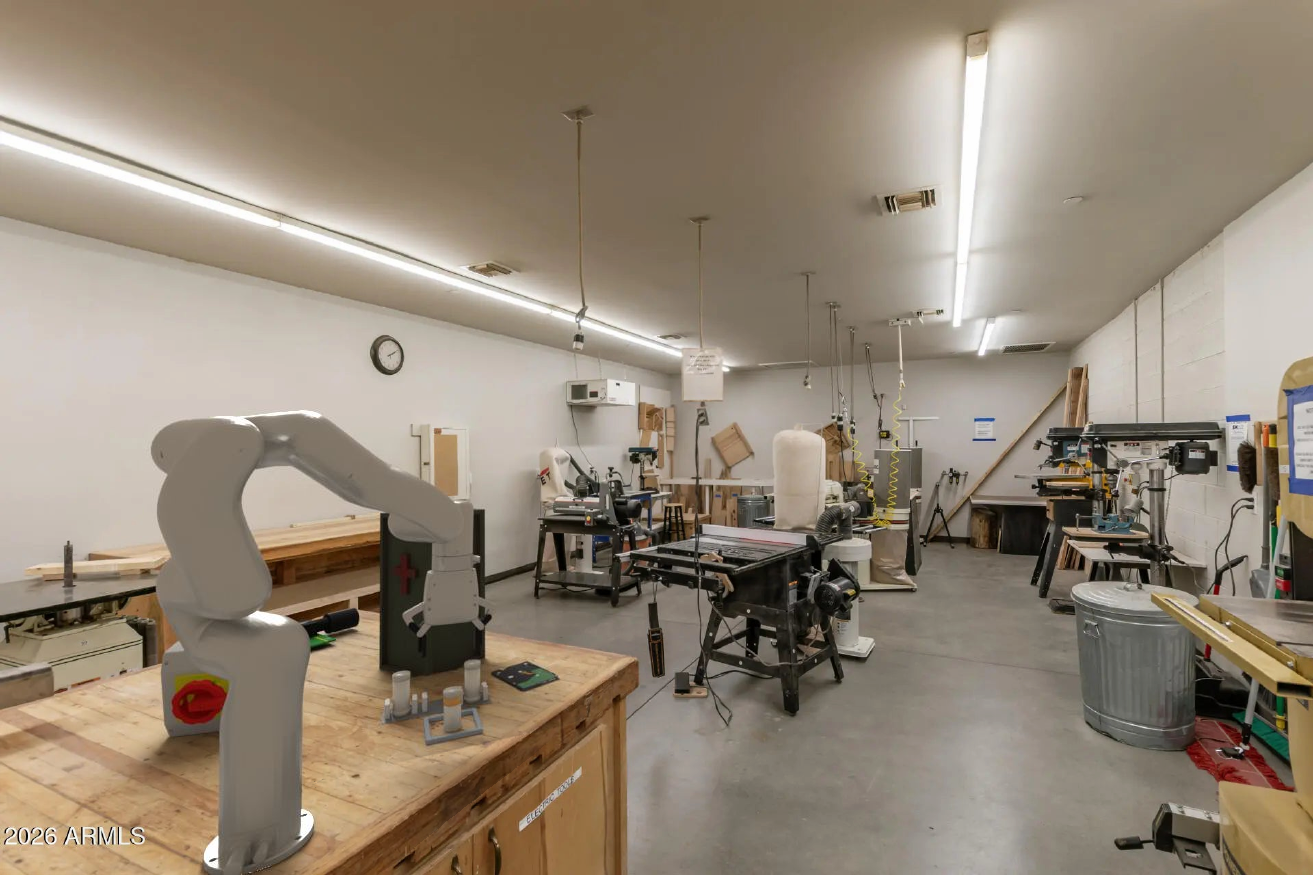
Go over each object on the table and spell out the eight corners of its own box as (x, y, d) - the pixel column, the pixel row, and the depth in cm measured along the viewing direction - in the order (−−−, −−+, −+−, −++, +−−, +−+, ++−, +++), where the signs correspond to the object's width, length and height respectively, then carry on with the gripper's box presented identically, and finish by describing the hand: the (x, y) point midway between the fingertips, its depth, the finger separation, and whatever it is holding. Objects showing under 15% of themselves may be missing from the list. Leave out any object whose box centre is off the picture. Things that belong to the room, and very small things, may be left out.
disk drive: (489, 683, 134) (523, 700, 124) (489, 671, 134) (523, 687, 124) (527, 671, 141) (561, 686, 131) (526, 660, 141) (561, 674, 131)
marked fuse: (460, 725, 110) (460, 684, 110) (462, 733, 107) (462, 691, 107) (442, 729, 109) (442, 688, 109) (443, 737, 106) (443, 694, 106)
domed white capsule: (410, 714, 113) (410, 675, 113) (391, 718, 112) (392, 678, 112) (410, 708, 116) (410, 669, 117) (392, 711, 115) (392, 672, 115)
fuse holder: (491, 709, 118) (491, 689, 118) (381, 731, 109) (381, 709, 109) (486, 697, 125) (486, 677, 125) (382, 717, 116) (382, 696, 116)
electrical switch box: (149, 763, 103) (142, 661, 101) (192, 716, 117) (186, 625, 115) (241, 751, 107) (236, 652, 105) (272, 707, 121) (268, 619, 119)
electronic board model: (264, 639, 147) (239, 630, 155) (263, 665, 146) (239, 655, 155) (373, 612, 172) (347, 605, 180) (373, 634, 172) (346, 627, 180)
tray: (482, 740, 105) (482, 728, 105) (426, 752, 101) (426, 740, 101) (476, 718, 114) (476, 707, 115) (423, 729, 110) (423, 717, 110)
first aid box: (379, 668, 143) (380, 512, 144) (439, 647, 159) (439, 507, 160) (426, 682, 134) (427, 515, 135) (485, 657, 150) (484, 509, 151)
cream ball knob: (481, 701, 119) (481, 663, 119) (465, 704, 118) (465, 666, 118) (479, 695, 122) (479, 658, 122) (463, 698, 121) (463, 661, 121)
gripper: (494, 558, 116) (492, 641, 115) (403, 563, 109) (401, 653, 108) (500, 563, 109) (499, 652, 108) (404, 569, 102) (401, 665, 101)
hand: (450, 652), depth 108 cm, fingers open, 9 cm apart
